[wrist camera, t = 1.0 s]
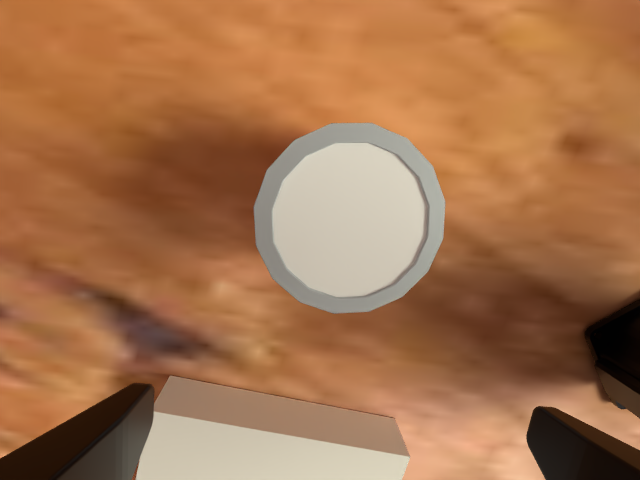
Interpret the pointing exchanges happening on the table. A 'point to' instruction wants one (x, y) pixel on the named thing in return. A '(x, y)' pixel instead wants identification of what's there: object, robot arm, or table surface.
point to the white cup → (349, 217)
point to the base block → (264, 438)
